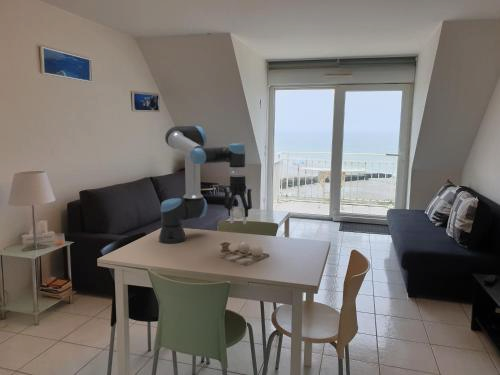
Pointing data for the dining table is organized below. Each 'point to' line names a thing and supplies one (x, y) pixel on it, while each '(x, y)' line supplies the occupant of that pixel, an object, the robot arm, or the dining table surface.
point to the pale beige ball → (243, 247)
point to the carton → (243, 257)
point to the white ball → (237, 212)
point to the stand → (225, 247)
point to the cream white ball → (256, 250)
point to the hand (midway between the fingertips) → (238, 222)
